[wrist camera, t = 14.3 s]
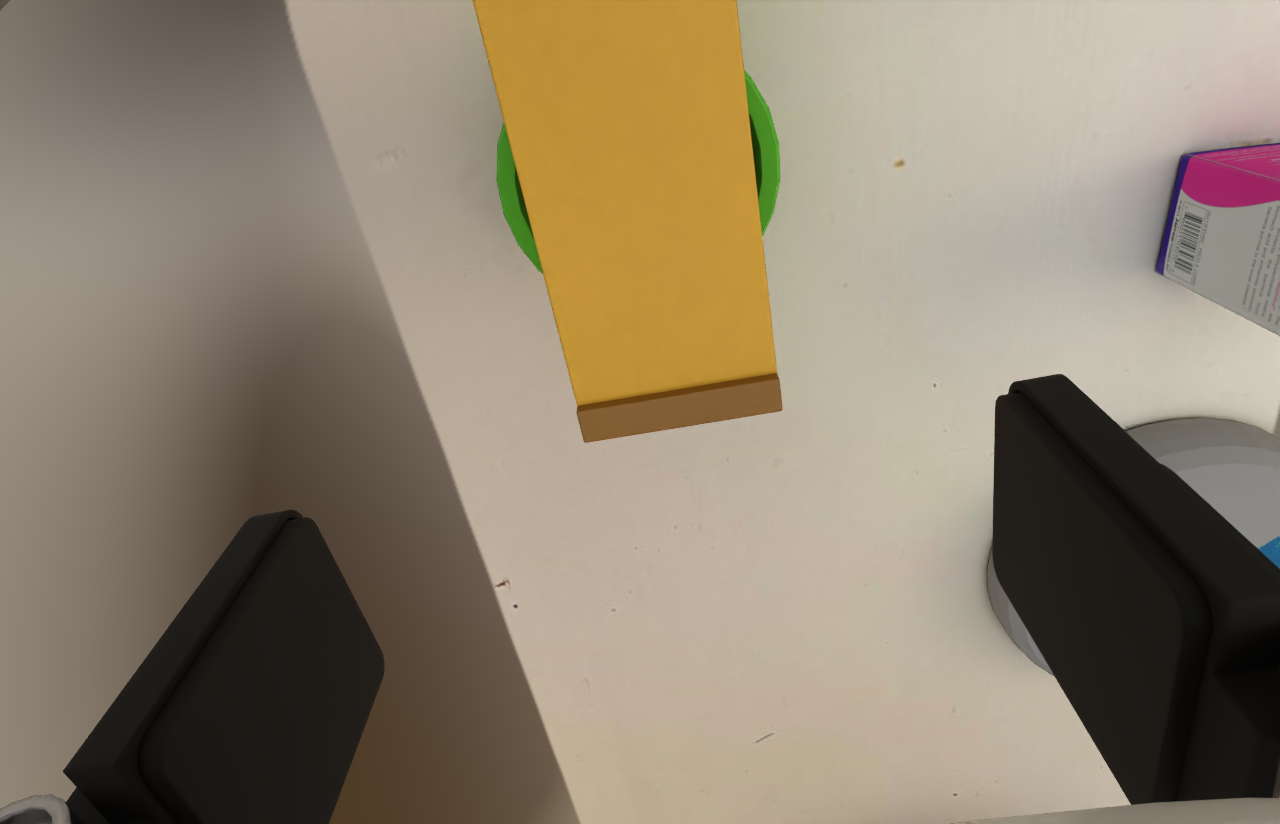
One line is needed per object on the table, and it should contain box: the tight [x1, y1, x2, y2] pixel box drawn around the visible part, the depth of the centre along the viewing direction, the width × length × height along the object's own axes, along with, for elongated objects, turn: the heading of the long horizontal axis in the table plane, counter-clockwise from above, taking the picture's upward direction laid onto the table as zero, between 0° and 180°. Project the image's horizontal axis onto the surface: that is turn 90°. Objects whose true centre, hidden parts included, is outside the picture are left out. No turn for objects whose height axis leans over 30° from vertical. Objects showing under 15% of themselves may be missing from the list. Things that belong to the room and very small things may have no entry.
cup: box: [497, 71, 780, 274], centre depth 29 cm, size 9×9×11 cm
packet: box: [473, 0, 782, 443], centre depth 23 cm, size 14×6×3 cm, turn 11°
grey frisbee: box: [987, 418, 1280, 676], centre depth 44 cm, size 18×18×5 cm
